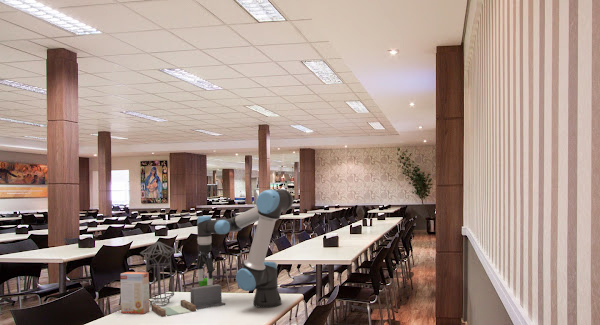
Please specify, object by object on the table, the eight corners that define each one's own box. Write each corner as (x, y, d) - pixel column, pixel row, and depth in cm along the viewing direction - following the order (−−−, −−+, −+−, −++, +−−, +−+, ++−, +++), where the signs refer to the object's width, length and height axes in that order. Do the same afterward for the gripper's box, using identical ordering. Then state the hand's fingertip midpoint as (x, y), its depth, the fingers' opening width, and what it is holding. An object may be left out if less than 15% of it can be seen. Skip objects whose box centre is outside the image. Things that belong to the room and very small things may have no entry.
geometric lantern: (165, 307, 278) (163, 243, 280) (139, 307, 283) (138, 243, 284) (179, 301, 294) (177, 240, 295) (154, 300, 298) (153, 240, 299)
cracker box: (150, 311, 271) (149, 271, 272) (143, 314, 266) (142, 273, 267) (128, 310, 276) (127, 271, 277) (120, 313, 270) (119, 273, 271)
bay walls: (195, 311, 268) (195, 305, 268) (161, 316, 258) (161, 310, 259) (184, 305, 283) (184, 299, 283) (151, 310, 274) (151, 304, 274)
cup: (210, 300, 293) (210, 280, 294) (195, 300, 295) (195, 281, 296) (216, 296, 302) (215, 278, 303) (201, 296, 304) (201, 278, 304)
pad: (190, 312, 266) (190, 311, 266) (167, 315, 260) (167, 315, 260) (178, 306, 282) (178, 305, 282) (157, 309, 275) (157, 308, 275)
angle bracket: (218, 302, 289) (217, 284, 289) (225, 305, 280) (224, 286, 281) (190, 306, 280) (190, 288, 281) (197, 309, 272) (196, 290, 272)
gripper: (190, 242, 292) (190, 280, 292) (206, 246, 271) (207, 287, 271) (202, 241, 296) (203, 278, 296) (219, 245, 275) (220, 285, 275)
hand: (205, 282), depth 283 cm, fingers open, 13 cm apart
